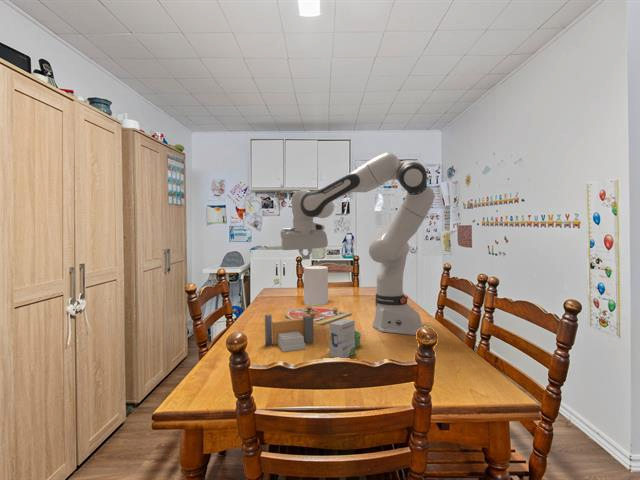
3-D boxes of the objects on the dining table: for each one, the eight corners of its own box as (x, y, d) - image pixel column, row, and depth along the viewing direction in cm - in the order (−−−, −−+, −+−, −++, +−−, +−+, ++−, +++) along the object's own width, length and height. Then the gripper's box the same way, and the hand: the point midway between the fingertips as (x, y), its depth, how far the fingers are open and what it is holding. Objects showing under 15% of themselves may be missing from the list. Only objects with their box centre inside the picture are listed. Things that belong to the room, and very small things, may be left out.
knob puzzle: (317, 328, 161) (317, 318, 161) (269, 318, 179) (269, 309, 179) (354, 315, 184) (354, 306, 184) (308, 307, 202) (308, 298, 202)
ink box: (341, 361, 122) (341, 325, 122) (328, 357, 126) (328, 322, 125) (356, 353, 129) (355, 320, 128) (343, 350, 132) (343, 317, 132)
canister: (322, 299, 218) (322, 265, 217) (331, 304, 205) (331, 268, 204) (300, 301, 213) (300, 266, 212) (308, 306, 201) (308, 269, 200)
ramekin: (354, 350, 132) (354, 338, 132) (332, 346, 137) (332, 335, 136) (364, 343, 140) (364, 331, 140) (343, 339, 144) (343, 328, 144)
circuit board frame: (306, 334, 151) (306, 305, 150) (323, 350, 132) (323, 317, 131) (256, 340, 144) (256, 309, 143) (267, 358, 125) (267, 323, 125)
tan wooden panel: (273, 344, 135) (273, 322, 135) (272, 343, 137) (272, 321, 136) (311, 339, 140) (311, 318, 140) (309, 338, 142) (309, 317, 141)
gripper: (282, 227, 155) (284, 261, 155) (327, 225, 162) (330, 257, 162) (278, 229, 161) (280, 261, 161) (322, 227, 168) (325, 258, 168)
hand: (306, 259), depth 161 cm, fingers closed
